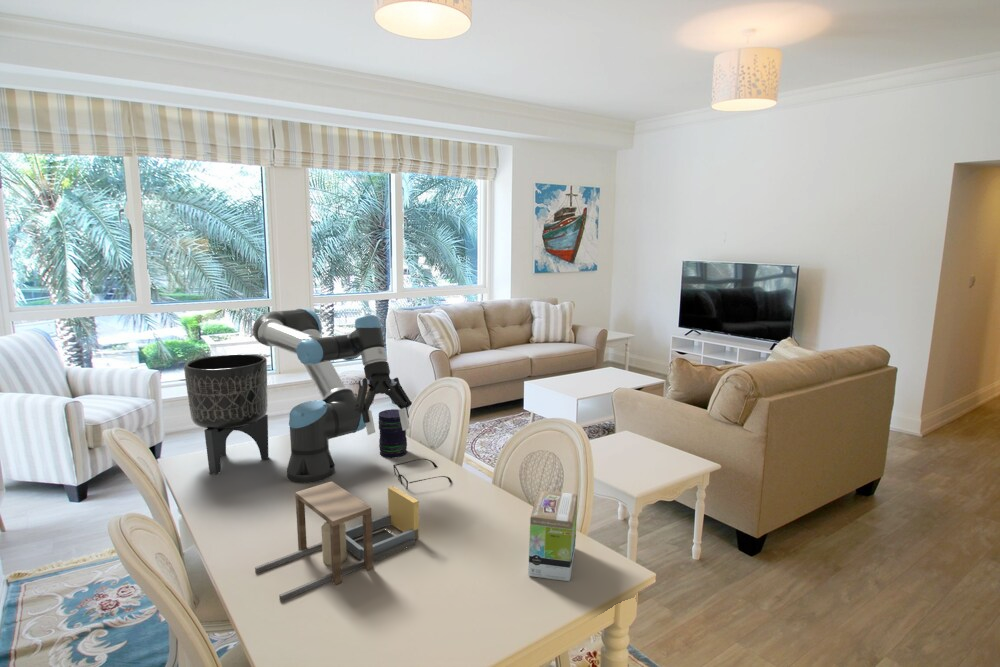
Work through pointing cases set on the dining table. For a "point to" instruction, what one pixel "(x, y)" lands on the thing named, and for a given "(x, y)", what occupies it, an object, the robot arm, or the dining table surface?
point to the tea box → (552, 535)
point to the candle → (327, 543)
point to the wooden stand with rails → (331, 532)
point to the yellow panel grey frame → (400, 516)
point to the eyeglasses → (418, 480)
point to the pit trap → (377, 536)
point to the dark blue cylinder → (391, 435)
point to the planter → (228, 401)
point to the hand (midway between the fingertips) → (389, 431)
